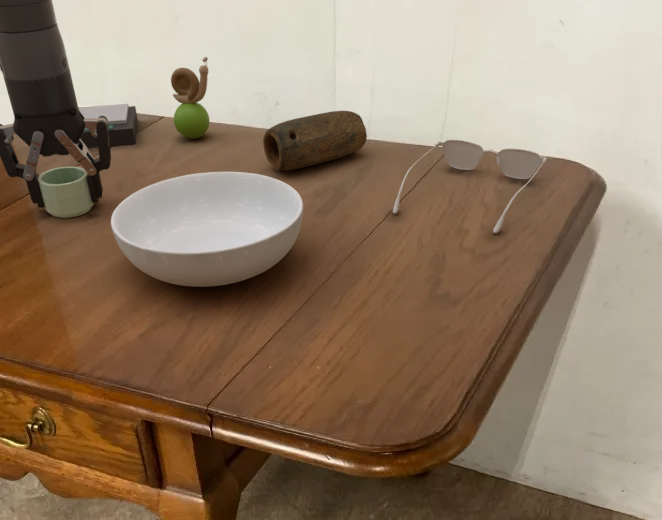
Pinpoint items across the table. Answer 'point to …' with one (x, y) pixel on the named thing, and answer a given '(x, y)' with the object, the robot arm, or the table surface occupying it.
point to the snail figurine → (190, 101)
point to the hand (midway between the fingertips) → (69, 202)
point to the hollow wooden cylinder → (313, 139)
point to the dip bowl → (65, 191)
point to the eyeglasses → (471, 154)
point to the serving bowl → (208, 227)
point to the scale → (112, 124)
